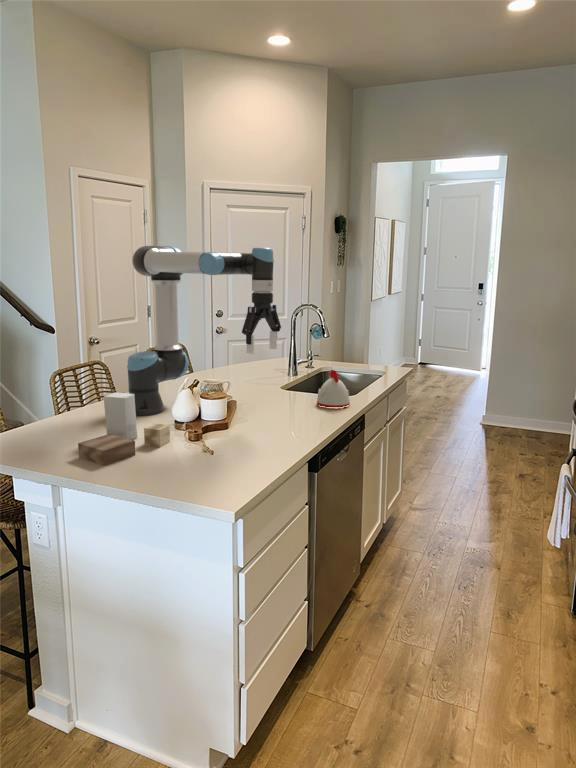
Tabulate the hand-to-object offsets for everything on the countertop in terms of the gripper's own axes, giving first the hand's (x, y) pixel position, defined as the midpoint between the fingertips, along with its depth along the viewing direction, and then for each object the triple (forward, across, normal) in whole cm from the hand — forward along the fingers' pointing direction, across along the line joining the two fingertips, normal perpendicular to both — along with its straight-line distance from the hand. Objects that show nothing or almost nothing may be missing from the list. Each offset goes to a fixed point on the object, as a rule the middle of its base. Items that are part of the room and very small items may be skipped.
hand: (261, 351), depth 213 cm
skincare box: (+28, -43, +27) cm, 58 cm away
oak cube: (+28, -39, +14) cm, 50 cm away
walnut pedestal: (+28, -57, +16) cm, 66 cm away
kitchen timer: (+28, +43, -6) cm, 52 cm away
